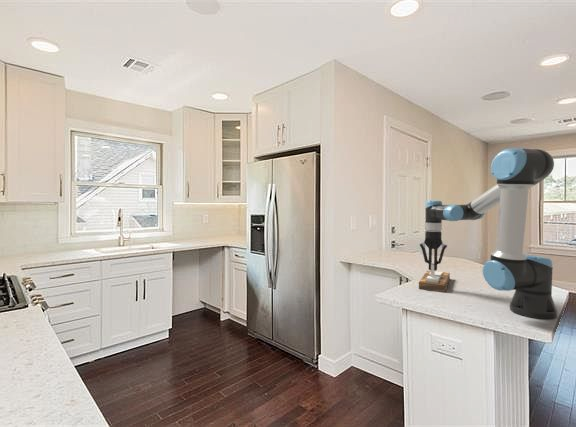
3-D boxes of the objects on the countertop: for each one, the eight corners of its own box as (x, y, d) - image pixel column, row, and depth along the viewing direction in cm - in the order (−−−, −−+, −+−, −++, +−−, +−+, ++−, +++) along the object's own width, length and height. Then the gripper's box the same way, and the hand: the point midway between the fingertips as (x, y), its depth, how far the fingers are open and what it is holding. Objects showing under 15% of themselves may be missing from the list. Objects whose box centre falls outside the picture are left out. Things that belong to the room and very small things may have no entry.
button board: (444, 292, 158) (444, 284, 158) (418, 289, 165) (418, 281, 164) (449, 279, 184) (449, 272, 184) (426, 276, 190) (427, 270, 190)
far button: (441, 278, 179) (442, 273, 179) (431, 277, 182) (431, 272, 182) (442, 276, 184) (442, 271, 184) (432, 275, 187) (432, 270, 187)
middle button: (440, 280, 171) (440, 275, 171) (429, 279, 173) (429, 274, 173) (441, 278, 175) (441, 273, 175) (430, 276, 178) (430, 272, 178)
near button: (438, 284, 162) (438, 279, 162) (426, 283, 165) (426, 278, 165) (439, 282, 167) (439, 277, 167) (427, 281, 169) (427, 275, 169)
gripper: (448, 230, 164) (447, 276, 166) (420, 229, 171) (420, 273, 172) (447, 232, 158) (446, 279, 159) (418, 230, 165) (418, 276, 166)
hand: (432, 276), depth 166 cm, fingers closed
